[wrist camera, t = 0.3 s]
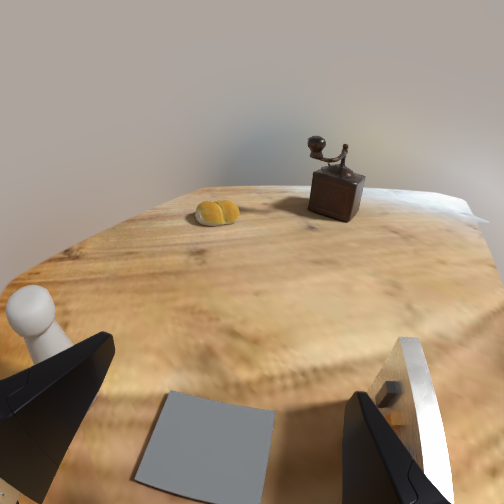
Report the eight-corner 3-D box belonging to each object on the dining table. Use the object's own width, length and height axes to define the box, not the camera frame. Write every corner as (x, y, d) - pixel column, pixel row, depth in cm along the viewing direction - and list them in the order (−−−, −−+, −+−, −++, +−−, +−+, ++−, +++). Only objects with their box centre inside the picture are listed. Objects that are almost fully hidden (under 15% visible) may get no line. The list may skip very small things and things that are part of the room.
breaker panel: (388, 539, 12) (454, 520, 7) (357, 543, 12) (415, 531, 7) (381, 396, 25) (418, 337, 21) (357, 395, 26) (390, 336, 21)
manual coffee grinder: (320, 198, 75) (329, 131, 66) (359, 210, 70) (372, 141, 61) (294, 216, 64) (304, 134, 54) (341, 231, 59) (357, 146, 49)
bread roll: (245, 223, 59) (246, 205, 57) (202, 230, 55) (202, 211, 53) (229, 208, 65) (230, 192, 63) (191, 214, 62) (190, 196, 60)
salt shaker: (48, 387, 22) (-8, 290, 16) (89, 365, 26) (47, 265, 20) (69, 429, 19) (-2, 334, 12) (114, 403, 23) (65, 302, 16)
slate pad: (258, 511, 15) (259, 510, 15) (136, 480, 16) (134, 479, 16) (274, 413, 24) (275, 411, 24) (171, 393, 25) (170, 390, 25)
